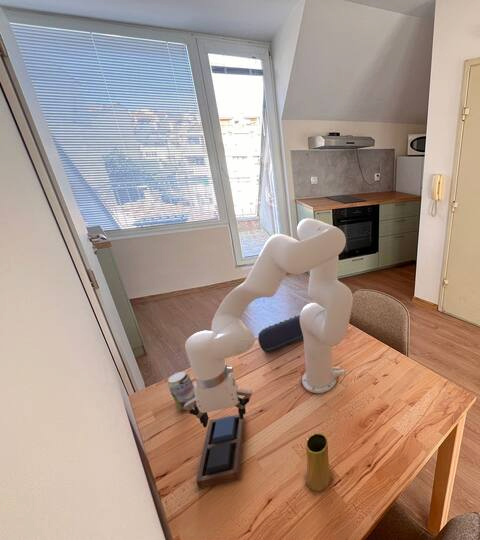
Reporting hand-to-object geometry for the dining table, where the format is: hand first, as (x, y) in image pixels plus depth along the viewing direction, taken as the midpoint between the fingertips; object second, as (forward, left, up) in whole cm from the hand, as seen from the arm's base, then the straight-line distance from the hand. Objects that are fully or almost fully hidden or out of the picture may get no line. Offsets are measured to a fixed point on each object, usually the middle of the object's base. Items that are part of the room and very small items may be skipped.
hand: (224, 419), depth 84 cm
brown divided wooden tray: (+1, +5, -7) cm, 9 cm away
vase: (-24, +19, -7) cm, 31 cm away
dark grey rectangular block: (+1, +9, -7) cm, 11 cm away
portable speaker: (-19, -41, -7) cm, 46 cm away
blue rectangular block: (+1, 0, -7) cm, 7 cm away
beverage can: (+15, -15, -7) cm, 23 cm away
